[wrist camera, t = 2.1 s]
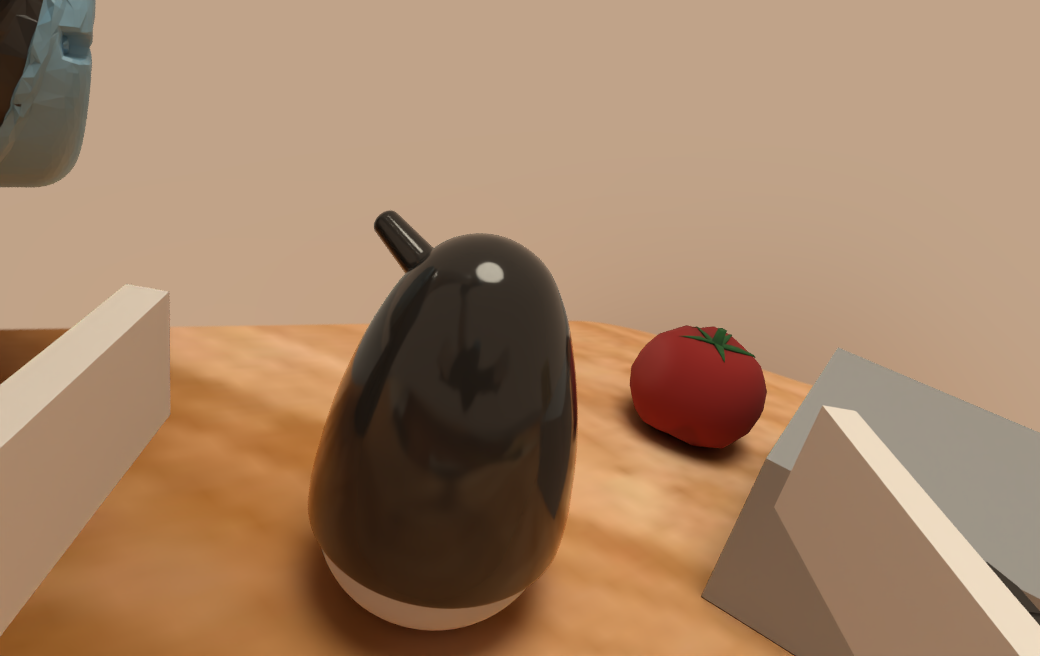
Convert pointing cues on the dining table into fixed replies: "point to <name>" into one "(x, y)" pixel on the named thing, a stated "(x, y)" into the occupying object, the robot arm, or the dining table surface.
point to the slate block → (930, 461)
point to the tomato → (698, 386)
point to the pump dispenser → (450, 435)
